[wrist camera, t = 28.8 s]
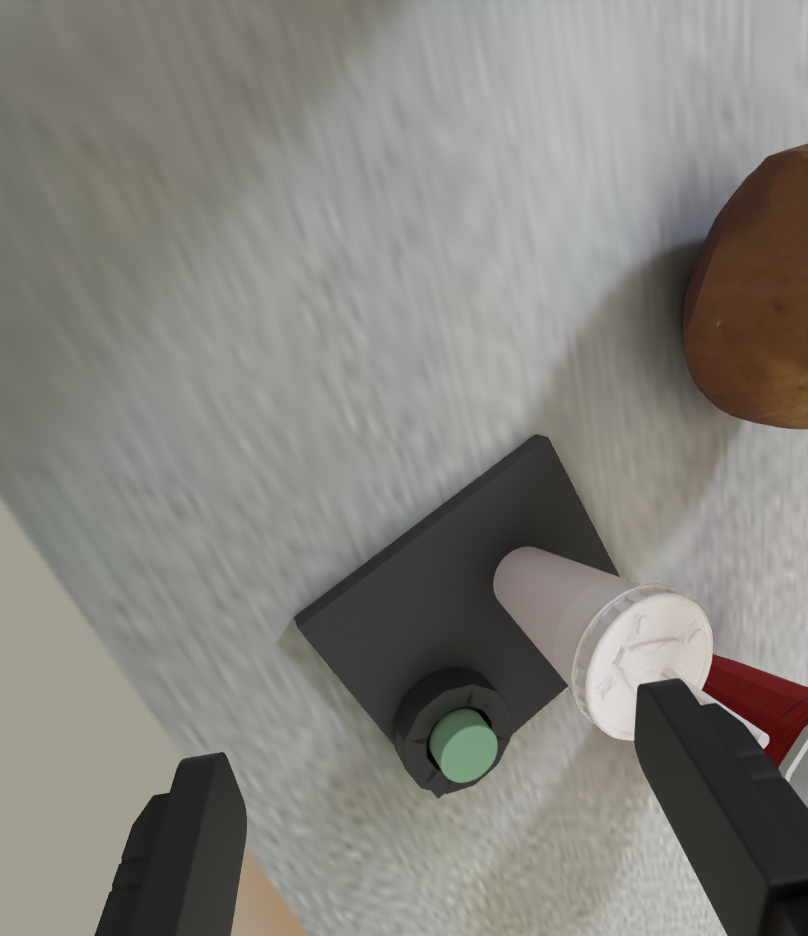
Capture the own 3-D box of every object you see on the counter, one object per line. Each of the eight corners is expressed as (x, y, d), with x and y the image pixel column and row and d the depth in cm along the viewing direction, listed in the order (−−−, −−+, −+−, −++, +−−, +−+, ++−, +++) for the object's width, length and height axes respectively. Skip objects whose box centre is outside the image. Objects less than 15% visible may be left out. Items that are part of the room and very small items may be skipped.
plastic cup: (749, 638, 41) (957, 746, 30) (670, 769, 41) (850, 927, 30) (657, 574, 36) (859, 673, 25) (568, 720, 36) (733, 883, 25)
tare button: (418, 736, 29) (429, 756, 28) (466, 695, 30) (480, 713, 29) (447, 774, 31) (460, 795, 29) (493, 734, 31) (508, 753, 30)
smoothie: (541, 646, 33) (767, 838, 20) (450, 614, 30) (642, 810, 17) (590, 545, 33) (850, 674, 20) (503, 504, 30) (736, 622, 17)
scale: (292, 617, 29) (303, 646, 26) (535, 433, 31) (569, 442, 29) (429, 785, 34) (450, 824, 31) (629, 613, 36) (665, 635, 34)
